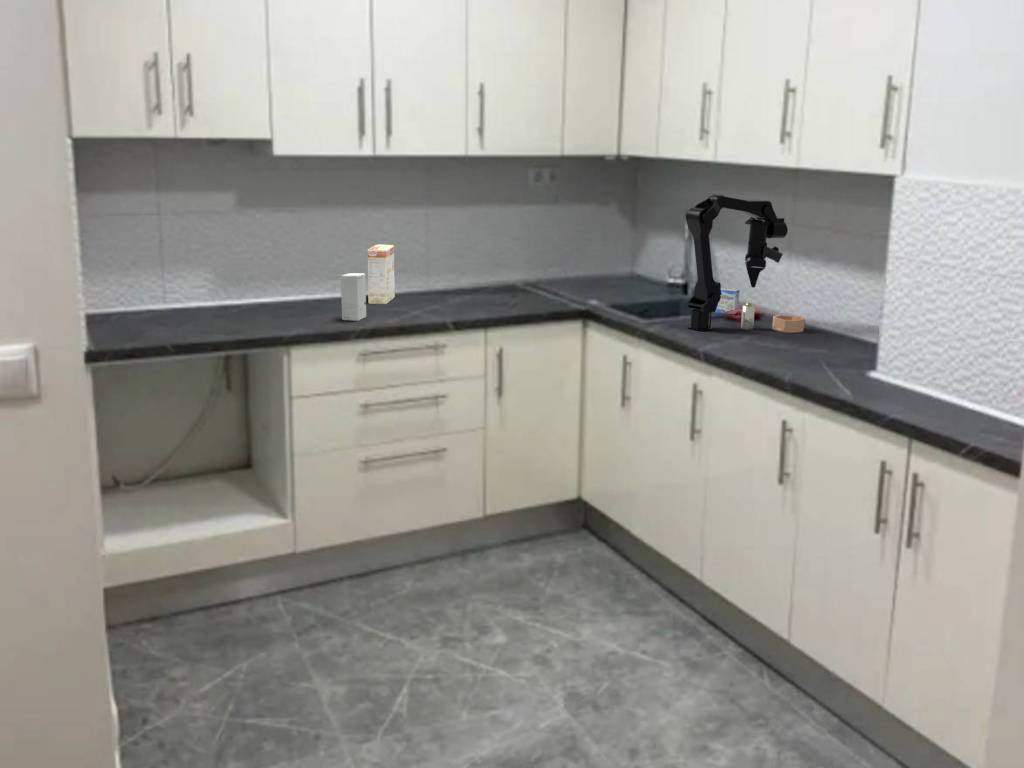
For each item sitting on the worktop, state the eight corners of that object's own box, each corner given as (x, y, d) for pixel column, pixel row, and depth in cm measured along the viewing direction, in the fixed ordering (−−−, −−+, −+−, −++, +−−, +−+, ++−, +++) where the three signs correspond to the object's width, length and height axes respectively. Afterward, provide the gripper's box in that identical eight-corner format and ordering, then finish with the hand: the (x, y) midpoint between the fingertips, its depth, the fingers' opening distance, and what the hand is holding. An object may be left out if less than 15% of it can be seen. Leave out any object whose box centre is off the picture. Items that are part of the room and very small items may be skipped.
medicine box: (712, 313, 369) (714, 289, 367) (716, 311, 373) (718, 287, 371) (734, 315, 366) (736, 291, 363) (737, 313, 369) (739, 289, 367)
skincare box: (358, 321, 339) (357, 276, 335) (340, 320, 340) (340, 275, 337) (366, 316, 347) (366, 272, 343) (349, 315, 348) (349, 271, 345)
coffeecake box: (376, 296, 386) (376, 244, 381) (395, 297, 385) (395, 244, 380) (367, 303, 371) (366, 249, 367) (386, 304, 371) (386, 249, 366)
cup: (791, 333, 336) (792, 321, 335) (766, 328, 343) (767, 316, 342) (809, 330, 342) (810, 318, 341) (784, 325, 349) (785, 313, 348)
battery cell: (747, 330, 340) (749, 304, 338) (738, 328, 343) (740, 303, 341) (755, 328, 343) (757, 303, 341) (745, 326, 346) (747, 301, 344)
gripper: (784, 242, 333) (779, 291, 336) (781, 237, 351) (776, 283, 354) (748, 240, 335) (743, 288, 338) (747, 235, 352) (742, 281, 356)
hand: (752, 285), depth 347 cm, fingers open, 9 cm apart
